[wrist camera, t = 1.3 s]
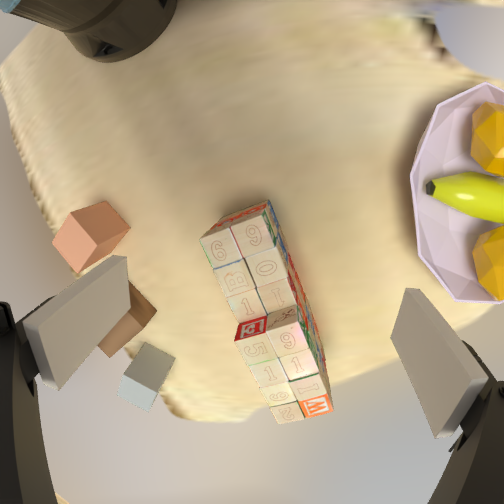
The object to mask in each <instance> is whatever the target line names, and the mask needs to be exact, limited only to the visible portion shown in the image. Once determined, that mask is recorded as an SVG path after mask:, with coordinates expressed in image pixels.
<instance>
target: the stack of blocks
mask: <svg viewBox="0 0 504 504" xmlns="http://www.w3.org/2000/svg"><path fill="white" fill-rule="evenodd" d="M200 243H201V245H202V247H203V249H204V251H205V253H206V256H207V258H208V260H209V262H210V264H211V266H212V267H213V272H214V274H215V276H216V278H217V280H218V283H219V285H220V287H221V289H222V291H223V293H224V295H225V297H226V299H227V302H228V304H229V306H230V308H231V310H232V312H233V314H234V316H235V318H236V320H237V321H238V322H239V325H238V328H237V332H236V336H235V340H234V342H235V344H236V346H237V348H238V350H239V352H240V353H241V355H242V357H243V359H244V361H245V363H246V365H248V367H249V369H250V371H251V373H252V374H253V376H254V378H255V380H256V382H257V384H258V385H259V389H260V391H261V393H262V395H263V396H264V398H265V400H266V402H267V404H268V405H269V406H270V410H271V412H272V414H273V416H274V417H275V419H276V421H277V423H278V424H283V423H288V422H293V421H298V420H303V419H305V417H306V418H310V417H314V416H318V415H322V414H325V413H329V412H332V411H333V410H334V409H333V403H332V397H331V390H330V384H329V377H328V375H327V369H326V364H325V360H326V359H325V355H324V350H323V346H322V343H321V340H320V337H319V334H318V329H317V327H316V324H315V321H314V318H313V315H312V312H311V309H310V306H309V303H308V300H307V297H306V295H305V293H304V292H303V289H302V286H301V284H300V281H299V278H298V275H297V273H296V271H295V269H294V266H293V263H292V260H291V258H290V255H289V252H288V247H287V244H286V241H285V238H284V236H283V233H282V231H281V228H280V225H279V224H278V221H277V219H276V216H275V213H274V211H273V208H272V206H271V203H270V201H269V200H267V201H264V202H262V203H259V204H256V205H254V206H251V207H248V208H246V209H243V210H240V211H237V212H235V213H232V214H230V215H227V216H225V217H223V218H221V219H220V220H219V221H218V222H217V223H216V224H215V225H214V226H213V227H212V228H211V229H210V230H209V231H207V232H206V233H205V234H204V235H203V236H202V237H201V238H200Z"/></svg>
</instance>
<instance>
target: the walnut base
mask: <svg viewBox="0 0 504 504" xmlns="http://www.w3.org/2000/svg"><path fill="white" fill-rule="evenodd" d="M128 284H129V295H130V305H131V308H130V309H129V310H128V311H127V312H126V313H125V315H124V316H123V317H122V318H121V319H120V320H119V321H118V322H117V324H116V325H115V326H114V327H113V328H112V329H111V330H110V331H109V333H108V334H107V335H106V336H105V337H104V338H103V339H102V341H101V342H100V343H99V344H98V345H97V346H98V347H99V348H100V349H101V350H102V351H103V352H104V353H105V354H106V355H107V356H108V357H109V358H110V357H111V356H113V355H114V354H115V353H116V352H117V351H118V350H119V349H120V348H122V347H123V346H124V345H125V344H126V343H127V342H128V341H130V340H131V339H132V338H133V337H134V336H135V335H136V334H138V333H139V332H140V331H141V330H142V329H143V328H144V327H145V326H146V325H147V323H148V322H149V321H150V319H151V318H152V317H153V316H154V314H155V313H156V312H157V310H156V309H155V308H154V307H153V306H152V305H151V304H150V303H149V302H148V301H147V300H146V299H145V298H144V296H143V295H142V294H141V293H140V292H139V291H138V290H137V289H136V288H135V287H134V286H133V285H132V284H131V282H130V281H129V280H128Z"/></svg>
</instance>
